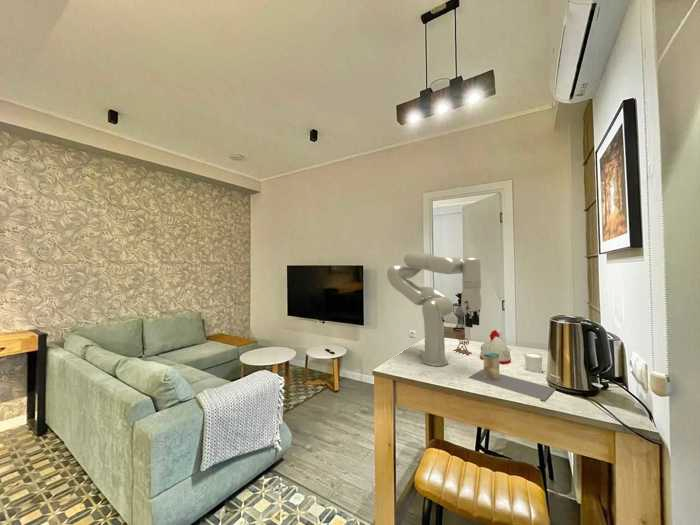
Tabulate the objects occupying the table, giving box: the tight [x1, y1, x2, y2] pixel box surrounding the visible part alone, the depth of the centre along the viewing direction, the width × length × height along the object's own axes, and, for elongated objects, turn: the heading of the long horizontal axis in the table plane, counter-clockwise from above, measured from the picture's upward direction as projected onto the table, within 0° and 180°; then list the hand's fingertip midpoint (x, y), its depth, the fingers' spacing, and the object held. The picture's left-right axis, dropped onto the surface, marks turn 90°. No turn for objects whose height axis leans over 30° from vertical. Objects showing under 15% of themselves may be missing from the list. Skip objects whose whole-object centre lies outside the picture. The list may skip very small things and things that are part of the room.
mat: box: [467, 368, 556, 402], centre depth 116 cm, size 28×14×1 cm, turn 41°
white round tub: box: [524, 352, 543, 374], centre depth 130 cm, size 7×7×7 cm
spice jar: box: [483, 352, 500, 381], centre depth 122 cm, size 4×4×10 cm
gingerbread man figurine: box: [453, 330, 473, 356], centre depth 158 cm, size 9×4×12 cm, turn 34°
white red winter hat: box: [479, 329, 512, 366], centre depth 146 cm, size 14×14×15 cm
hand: (472, 325), depth 128 cm, fingers open, 5 cm apart
